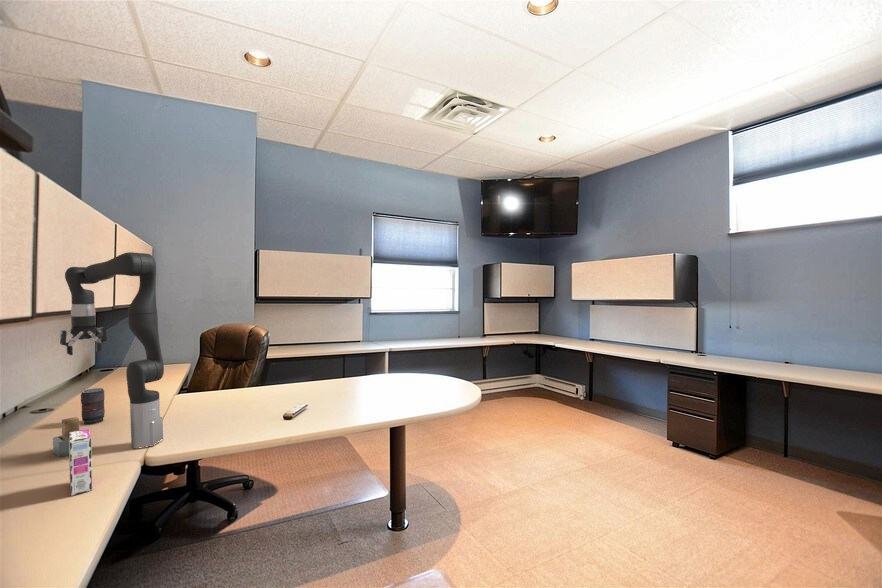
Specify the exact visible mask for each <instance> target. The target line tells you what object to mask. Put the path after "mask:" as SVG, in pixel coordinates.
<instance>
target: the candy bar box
mask: <svg viewBox="0 0 882 588" xmlns="http://www.w3.org/2000/svg"><path fill="white" fill-rule="evenodd" d="M68 456H69V457H68V458H69V459H68V460H69V461H68V462H69V465H68V466H69V488H70V496H71V497H73V496H77V495H81V494H84V493H89V492H91V491H93V470H92V468H93V466H92V465H93V464H92V463H93V461H92V458H93V457H92V436H91V433H90V429H89V428H86V429H79V431H75V432H70V433H69V455H68Z"/></svg>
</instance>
